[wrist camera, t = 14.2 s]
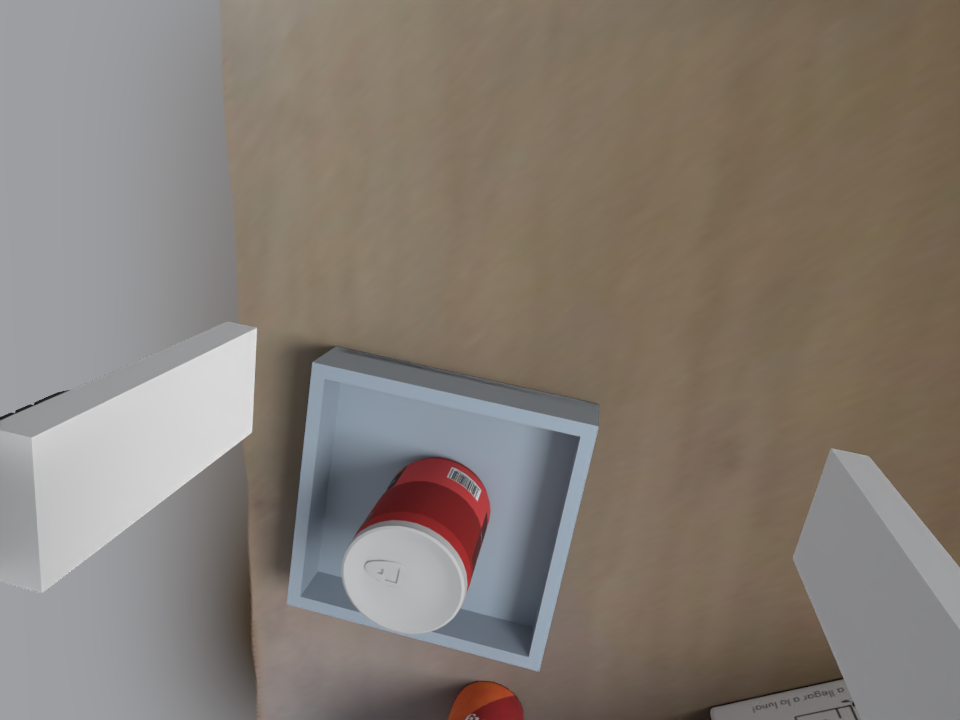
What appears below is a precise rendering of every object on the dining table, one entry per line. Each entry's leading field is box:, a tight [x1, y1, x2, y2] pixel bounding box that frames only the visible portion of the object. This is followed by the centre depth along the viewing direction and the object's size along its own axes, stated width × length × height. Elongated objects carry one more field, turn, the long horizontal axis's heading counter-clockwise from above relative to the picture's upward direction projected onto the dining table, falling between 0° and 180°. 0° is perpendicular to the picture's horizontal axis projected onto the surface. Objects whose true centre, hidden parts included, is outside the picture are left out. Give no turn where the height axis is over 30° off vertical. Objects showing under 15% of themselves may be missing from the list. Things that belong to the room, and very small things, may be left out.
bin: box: [287, 346, 599, 672], centre depth 51 cm, size 20×20×4 cm
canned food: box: [341, 457, 491, 634], centre depth 47 cm, size 8×8×11 cm
